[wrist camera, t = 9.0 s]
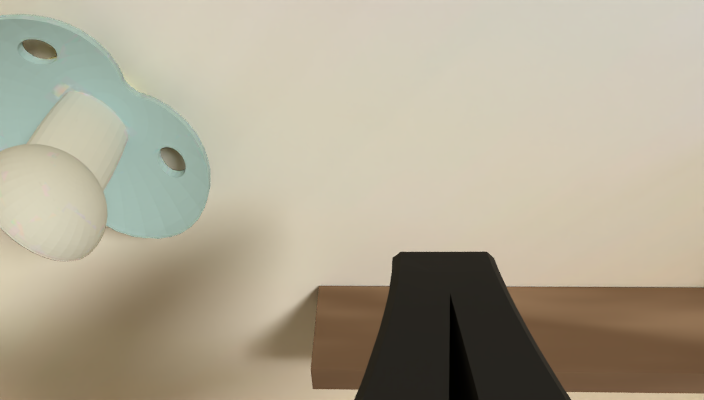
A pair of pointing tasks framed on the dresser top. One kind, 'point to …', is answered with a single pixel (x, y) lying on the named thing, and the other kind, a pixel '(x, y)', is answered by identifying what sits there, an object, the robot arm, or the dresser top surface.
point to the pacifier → (86, 147)
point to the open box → (546, 336)
